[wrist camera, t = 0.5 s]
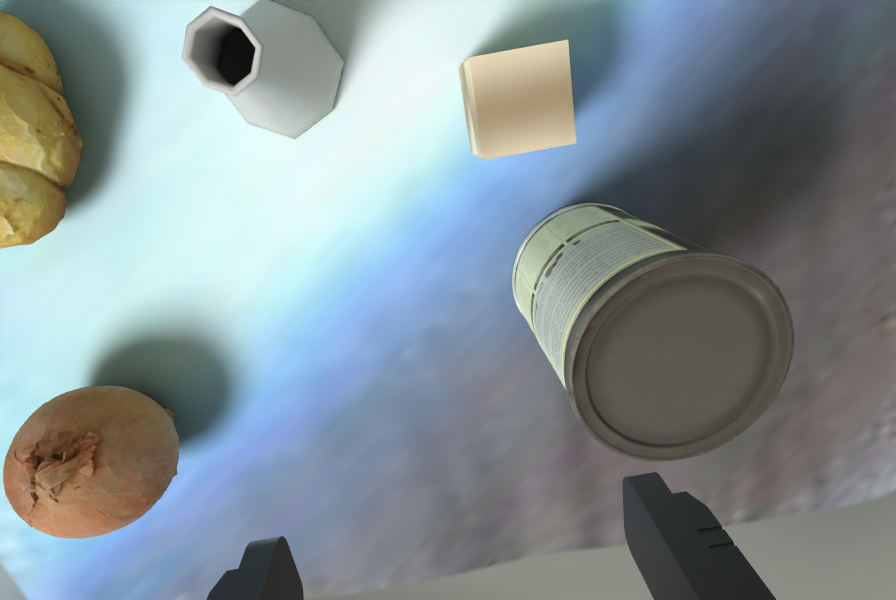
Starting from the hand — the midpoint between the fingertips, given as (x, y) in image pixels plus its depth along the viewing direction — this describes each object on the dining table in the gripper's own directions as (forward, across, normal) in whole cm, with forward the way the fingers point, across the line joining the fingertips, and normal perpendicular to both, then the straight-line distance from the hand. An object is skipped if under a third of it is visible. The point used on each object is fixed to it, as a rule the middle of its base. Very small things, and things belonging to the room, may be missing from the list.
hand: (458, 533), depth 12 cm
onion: (+24, +23, +9) cm, 35 cm away
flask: (+25, +7, -12) cm, 29 cm away
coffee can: (+24, -11, +3) cm, 27 cm away
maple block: (+24, -6, -9) cm, 27 cm away
